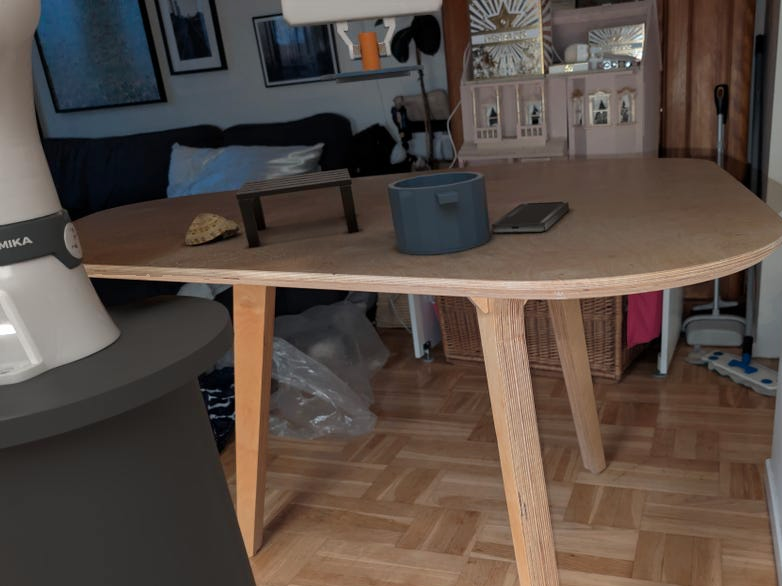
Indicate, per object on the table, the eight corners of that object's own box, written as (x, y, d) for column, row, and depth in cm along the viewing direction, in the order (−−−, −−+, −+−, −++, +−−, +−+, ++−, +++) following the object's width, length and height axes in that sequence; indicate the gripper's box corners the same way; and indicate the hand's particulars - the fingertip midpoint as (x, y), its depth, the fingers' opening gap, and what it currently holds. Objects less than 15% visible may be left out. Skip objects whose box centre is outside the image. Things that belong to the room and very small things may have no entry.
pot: (405, 264, 86) (395, 196, 83) (391, 236, 103) (382, 178, 99) (504, 249, 88) (498, 181, 85) (475, 224, 105) (469, 166, 101)
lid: (321, 84, 85) (313, 34, 83) (321, 85, 98) (314, 41, 96) (431, 73, 87) (425, 23, 85) (418, 75, 100) (412, 31, 98)
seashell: (247, 222, 114) (197, 211, 109) (242, 256, 115) (191, 247, 110) (232, 217, 120) (184, 206, 115) (227, 249, 121) (178, 240, 116)
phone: (570, 201, 107) (543, 223, 94) (570, 208, 107) (544, 231, 94) (520, 203, 109) (488, 225, 97) (521, 210, 110) (489, 233, 97)
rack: (247, 248, 106) (235, 194, 103) (256, 229, 120) (245, 181, 117) (360, 231, 108) (351, 179, 105) (355, 214, 123) (347, 168, 120)
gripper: (264, -62, 82) (289, 66, 87) (436, -75, 85) (450, 49, 90) (268, -52, 88) (291, 68, 93) (429, -64, 91) (442, 52, 96)
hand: (370, 59), depth 92 cm, fingers closed on lid, 2 cm apart
